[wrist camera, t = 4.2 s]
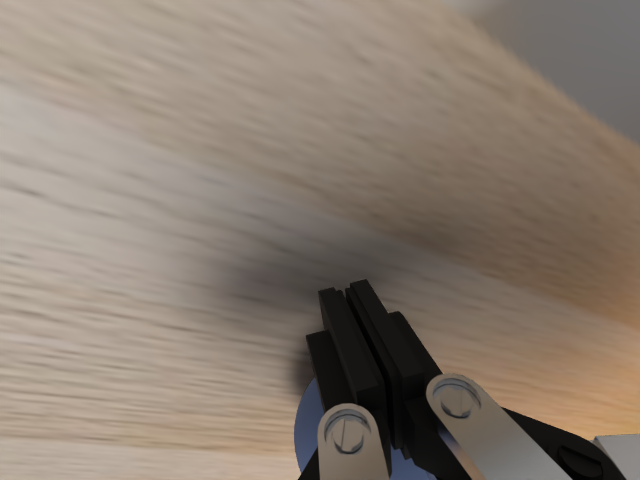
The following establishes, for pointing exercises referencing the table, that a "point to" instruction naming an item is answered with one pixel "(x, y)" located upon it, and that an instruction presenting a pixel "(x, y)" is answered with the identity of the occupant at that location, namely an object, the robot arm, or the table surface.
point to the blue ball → (308, 417)
